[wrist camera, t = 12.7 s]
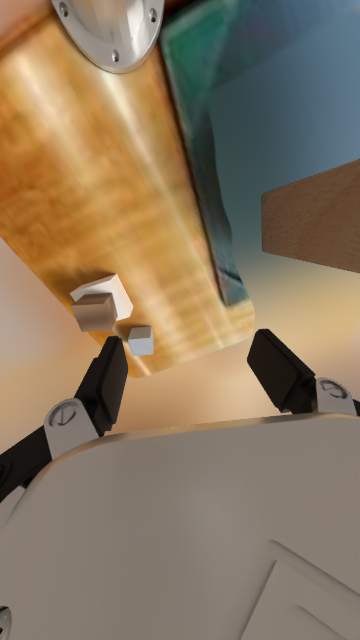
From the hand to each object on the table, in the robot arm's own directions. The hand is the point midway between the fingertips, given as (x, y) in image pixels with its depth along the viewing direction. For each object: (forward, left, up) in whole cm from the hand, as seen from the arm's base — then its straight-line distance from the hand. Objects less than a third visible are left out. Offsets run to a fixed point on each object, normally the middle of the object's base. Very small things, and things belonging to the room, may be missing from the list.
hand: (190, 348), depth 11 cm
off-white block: (+5, -14, -26) cm, 30 cm away
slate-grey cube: (+16, -8, -25) cm, 31 cm away
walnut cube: (+5, -14, -21) cm, 26 cm away
